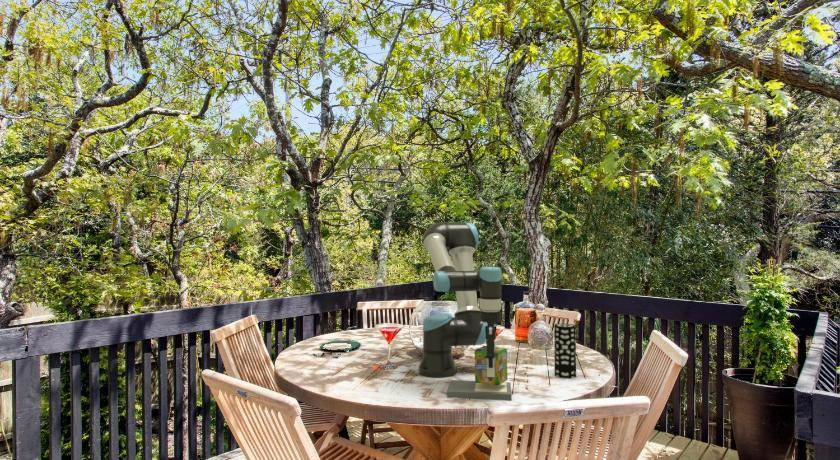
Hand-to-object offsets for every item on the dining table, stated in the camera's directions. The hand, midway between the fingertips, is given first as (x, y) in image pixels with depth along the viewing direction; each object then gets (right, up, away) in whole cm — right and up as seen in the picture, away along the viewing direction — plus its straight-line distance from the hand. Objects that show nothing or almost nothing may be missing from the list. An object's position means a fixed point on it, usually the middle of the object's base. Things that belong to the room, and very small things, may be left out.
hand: (490, 372), depth 181 cm
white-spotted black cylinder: (+33, -8, +22) cm, 40 cm away
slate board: (-4, -7, +1) cm, 8 cm away
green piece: (-66, -9, +67) cm, 95 cm away
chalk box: (0, -3, 0) cm, 3 cm away
